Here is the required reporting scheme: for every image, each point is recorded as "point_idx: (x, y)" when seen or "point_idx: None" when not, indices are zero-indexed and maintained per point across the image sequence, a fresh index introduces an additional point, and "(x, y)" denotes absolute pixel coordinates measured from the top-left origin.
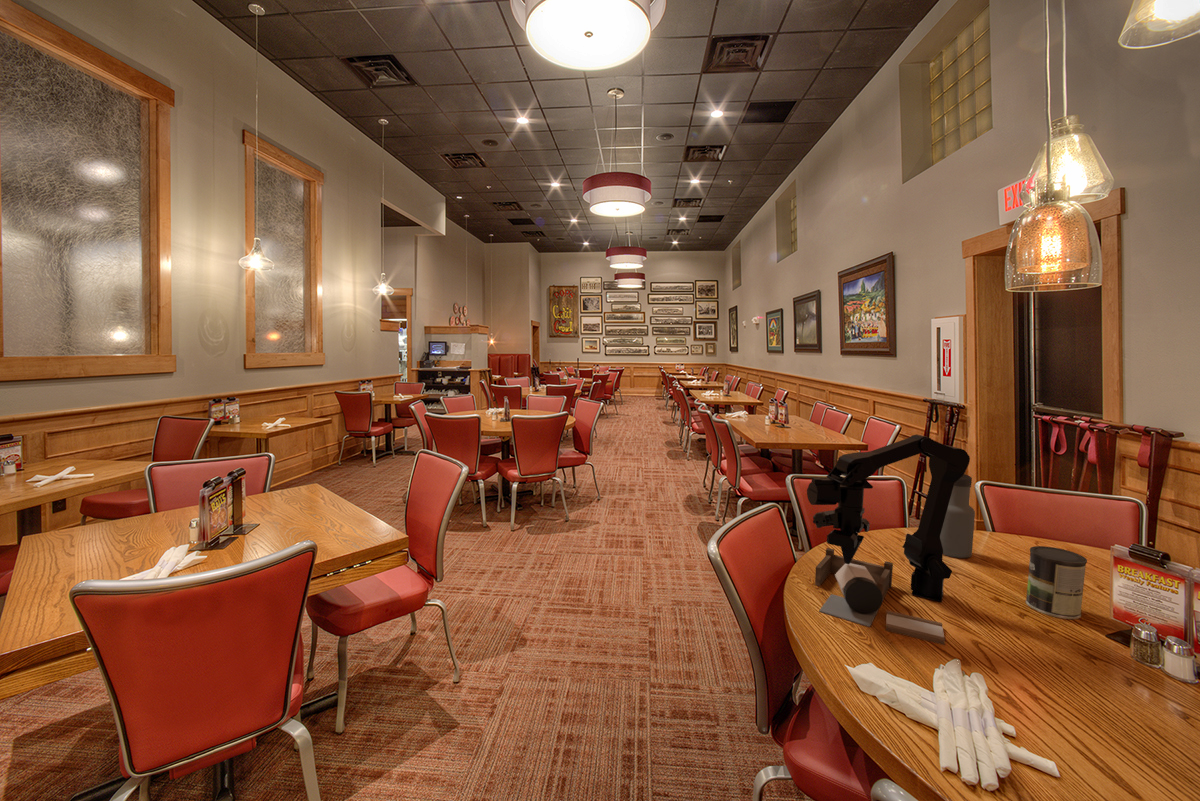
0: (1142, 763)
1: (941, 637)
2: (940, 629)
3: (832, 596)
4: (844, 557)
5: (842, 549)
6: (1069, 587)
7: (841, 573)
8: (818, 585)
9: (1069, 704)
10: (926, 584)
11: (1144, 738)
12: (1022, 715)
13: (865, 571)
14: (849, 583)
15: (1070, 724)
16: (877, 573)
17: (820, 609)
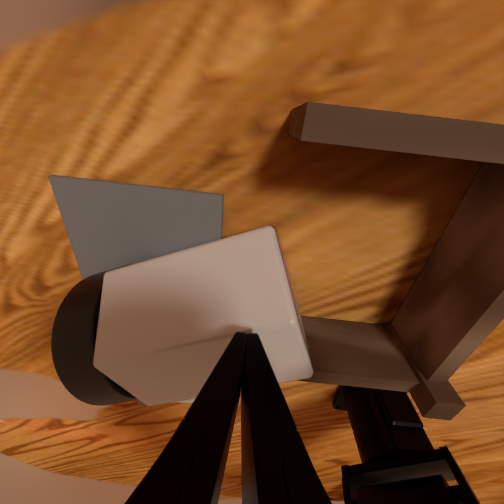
0: (56, 464)
1: (142, 402)
2: (183, 400)
3: (203, 202)
4: (215, 371)
5: (161, 458)
6: None
7: (218, 277)
8: (289, 128)
9: (108, 453)
10: (355, 426)
11: (101, 472)
12: (37, 428)
13: None
14: (66, 328)
15: (66, 448)
16: (420, 340)
17: (60, 178)
